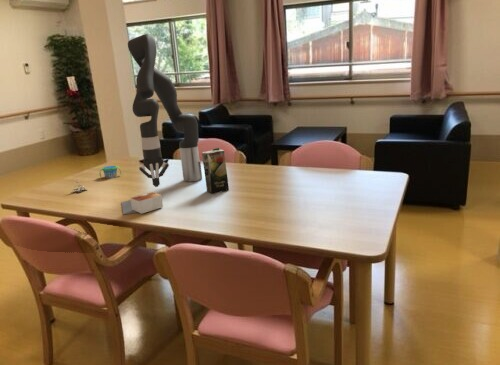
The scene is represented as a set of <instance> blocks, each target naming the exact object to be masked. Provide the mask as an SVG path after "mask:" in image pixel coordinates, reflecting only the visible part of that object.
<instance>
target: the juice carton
mask: <svg viewBox="0 0 500 365" xmlns="http://www.w3.org/2000/svg"><path fill="white" fill-rule="evenodd" d="M201 154H202V165H203V169H204V171H203V172H204V177H205V178H204V179H205V186H206V192H208V193H210V194H211V195H213V194H214V195H215V194H217V193H221V192H222V193H224V192H226V191H230V190H229V188H230V187H229V179H228V178H229V177H228V172H227V165H226V164H227V163H226V156H225V150H224V149H220V148H219V147H214V148H213V149H212V150H208V151H203V152H201Z"/></svg>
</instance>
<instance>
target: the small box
mask: <svg viewBox="0 0 500 365" xmlns="http://www.w3.org/2000/svg"><path fill="white" fill-rule="evenodd" d="M130 201H131V205H132V210H134V211H136V212H138V213H139V214H141V215H142V214H145V213H147V212H152V211H155V210H158V209H161V208H164V207H163V206H164V204H163V197H162V194H160V193H157V192H153V191H149V192H147V193H143V194H140V195H136V196H133V197H130Z"/></svg>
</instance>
